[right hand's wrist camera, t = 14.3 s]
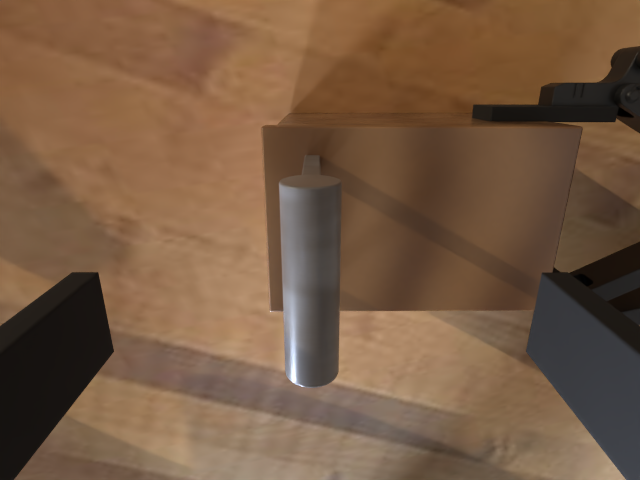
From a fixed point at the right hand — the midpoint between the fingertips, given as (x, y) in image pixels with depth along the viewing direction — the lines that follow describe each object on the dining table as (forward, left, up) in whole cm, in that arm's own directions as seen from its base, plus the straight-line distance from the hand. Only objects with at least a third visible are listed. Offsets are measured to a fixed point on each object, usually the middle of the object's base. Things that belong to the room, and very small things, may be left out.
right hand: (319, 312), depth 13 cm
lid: (+3, -4, -9) cm, 10 cm away
